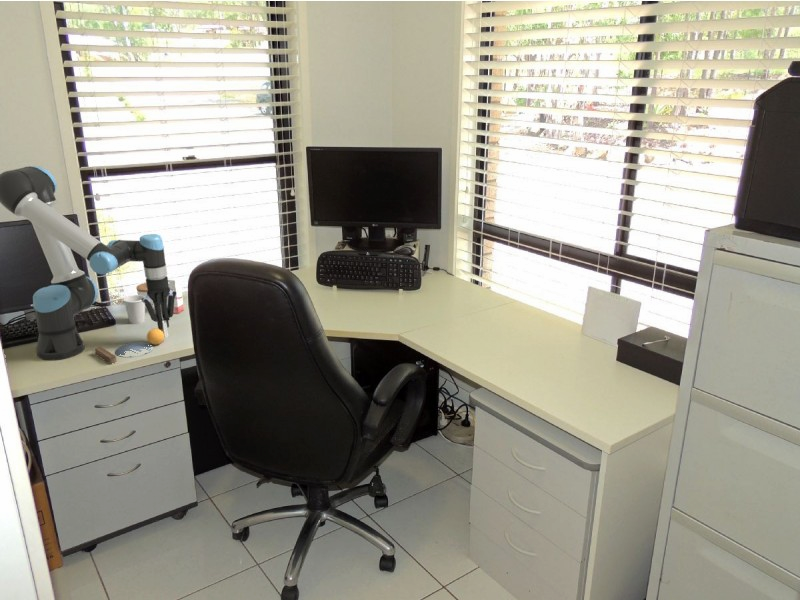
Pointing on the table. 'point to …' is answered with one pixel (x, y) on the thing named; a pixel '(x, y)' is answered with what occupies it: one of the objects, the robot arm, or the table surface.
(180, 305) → the ink cartridge box
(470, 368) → the table surface
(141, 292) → the lidded jar
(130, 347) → the slate mark
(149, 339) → the ball
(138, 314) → the dixie cup
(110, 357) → the strip
